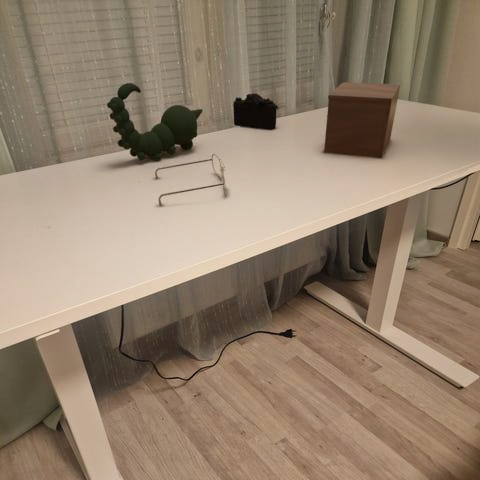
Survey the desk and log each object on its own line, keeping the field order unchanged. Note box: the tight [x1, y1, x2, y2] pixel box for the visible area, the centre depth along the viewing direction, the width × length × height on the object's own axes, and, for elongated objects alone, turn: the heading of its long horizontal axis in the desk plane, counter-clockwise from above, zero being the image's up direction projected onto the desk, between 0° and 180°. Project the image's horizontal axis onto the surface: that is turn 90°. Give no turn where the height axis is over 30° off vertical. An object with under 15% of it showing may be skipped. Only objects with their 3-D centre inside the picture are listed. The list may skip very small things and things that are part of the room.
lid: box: [327, 81, 401, 102], centre depth 105 cm, size 16×15×1 cm
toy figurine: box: [106, 82, 203, 162], centre depth 107 cm, size 9×19×25 cm
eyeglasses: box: [154, 153, 228, 206], centre depth 92 cm, size 16×15×5 cm
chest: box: [323, 87, 401, 159], centre depth 109 cm, size 16×15×13 cm
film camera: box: [232, 92, 279, 131], centre depth 131 cm, size 15×10×9 cm, turn 59°
